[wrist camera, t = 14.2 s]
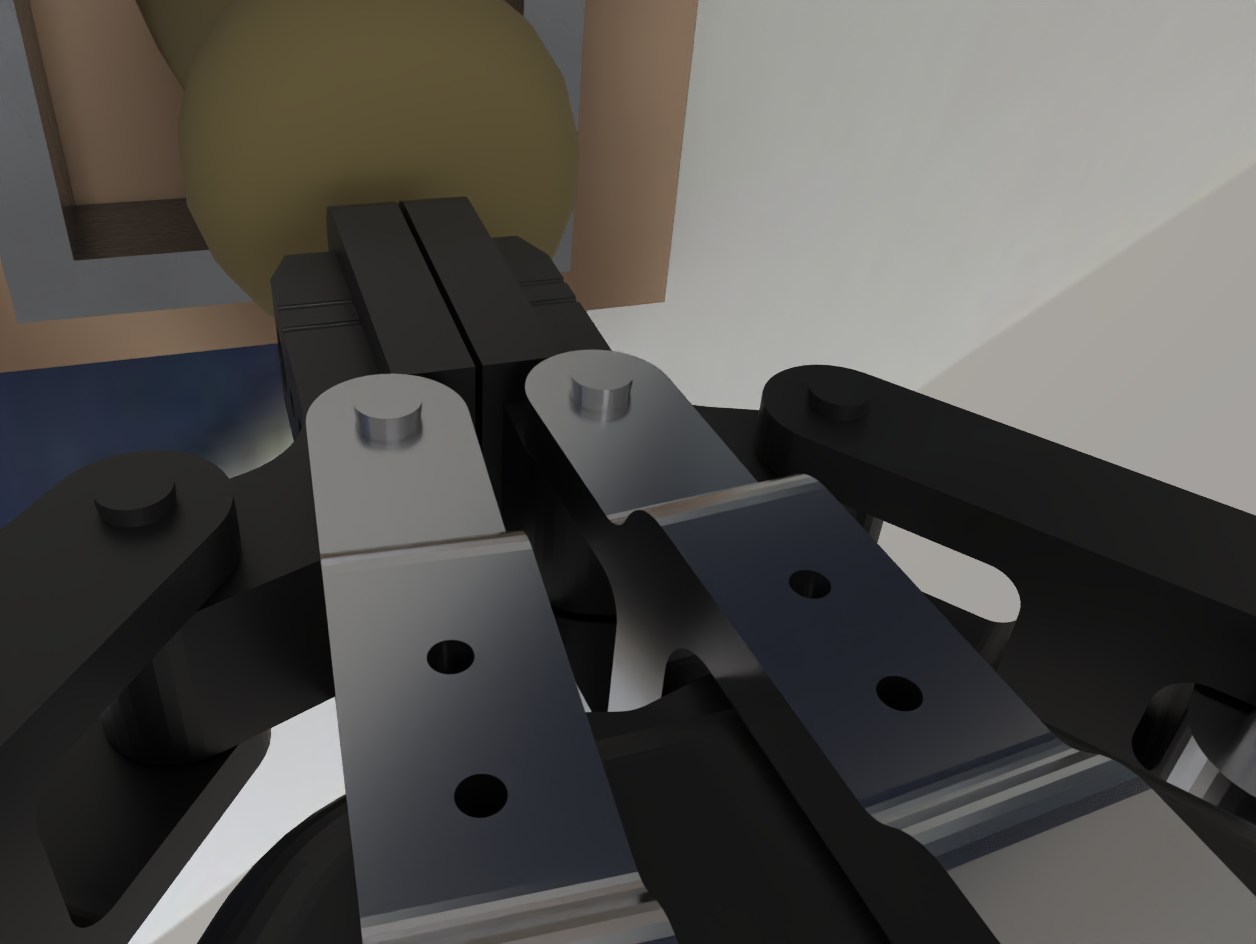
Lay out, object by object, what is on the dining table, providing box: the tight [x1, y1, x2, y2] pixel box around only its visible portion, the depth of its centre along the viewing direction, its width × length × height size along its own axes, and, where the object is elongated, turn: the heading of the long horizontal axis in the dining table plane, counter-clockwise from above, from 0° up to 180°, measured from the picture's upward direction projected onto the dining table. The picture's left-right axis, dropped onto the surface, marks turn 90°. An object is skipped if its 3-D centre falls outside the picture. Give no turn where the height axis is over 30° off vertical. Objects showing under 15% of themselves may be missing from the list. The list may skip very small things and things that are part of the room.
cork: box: [135, 0, 580, 318], centre depth 18 cm, size 6×6×11 cm
